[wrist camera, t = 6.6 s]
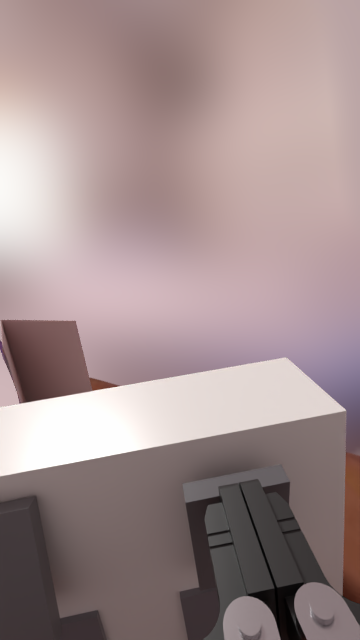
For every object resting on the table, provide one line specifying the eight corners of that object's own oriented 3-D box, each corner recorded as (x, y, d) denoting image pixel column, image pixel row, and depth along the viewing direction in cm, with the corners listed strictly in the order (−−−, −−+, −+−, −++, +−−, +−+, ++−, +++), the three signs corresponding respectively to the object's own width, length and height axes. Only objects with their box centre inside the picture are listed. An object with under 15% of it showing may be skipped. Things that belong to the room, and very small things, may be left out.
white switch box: (-50, 729, 16) (-176, 514, 12) (3, 592, 22) (-69, 419, 18) (345, 633, 17) (350, 414, 13) (293, 529, 23) (286, 357, 19)
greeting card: (27, 433, 40) (-8, 322, 36) (85, 411, 43) (59, 306, 39) (38, 491, 30) (-10, 348, 26) (111, 457, 34) (80, 325, 29)
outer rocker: (200, 596, 14) (186, 507, 11) (196, 570, 15) (182, 483, 12) (288, 576, 14) (292, 486, 12) (278, 552, 15) (281, 463, 13)
